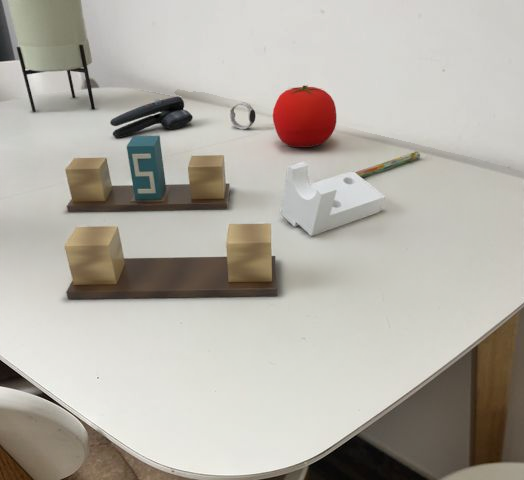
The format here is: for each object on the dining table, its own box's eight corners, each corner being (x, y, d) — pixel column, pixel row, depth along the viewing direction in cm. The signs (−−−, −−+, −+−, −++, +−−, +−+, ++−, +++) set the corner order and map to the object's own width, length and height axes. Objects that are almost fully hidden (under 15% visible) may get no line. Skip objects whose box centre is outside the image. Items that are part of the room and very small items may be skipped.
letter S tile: (134, 200, 86) (126, 146, 81) (140, 187, 90) (132, 135, 85) (161, 200, 86) (154, 146, 81) (166, 187, 90) (159, 135, 85)
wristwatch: (250, 131, 117) (249, 105, 114) (229, 128, 118) (227, 103, 116) (256, 127, 119) (256, 102, 116) (235, 125, 121) (234, 100, 118)
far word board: (68, 212, 85) (58, 172, 82) (81, 192, 92) (73, 154, 88) (227, 209, 85) (224, 169, 81) (230, 189, 91) (227, 151, 88)
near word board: (67, 299, 65) (55, 252, 62) (85, 265, 72) (75, 221, 68) (276, 296, 65) (276, 248, 61) (275, 262, 71) (275, 217, 68)
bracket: (309, 241, 78) (321, 194, 72) (279, 212, 81) (288, 165, 76) (378, 217, 84) (393, 171, 78) (347, 191, 87) (360, 146, 82)
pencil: (348, 183, 92) (420, 158, 101) (348, 176, 91) (421, 152, 100) (342, 181, 93) (414, 156, 102) (342, 174, 92) (415, 150, 101)
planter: (104, 96, 144) (85, -12, 130) (93, 113, 131) (71, -4, 117) (43, 98, 143) (18, -9, 129) (26, 115, 130) (-4, -2, 116)
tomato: (317, 132, 115) (319, 76, 109) (346, 149, 106) (350, 89, 100) (263, 140, 111) (261, 83, 105) (287, 158, 103) (288, 96, 96)
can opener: (179, 118, 125) (177, 91, 122) (196, 125, 121) (193, 97, 118) (105, 134, 117) (99, 105, 114) (120, 142, 113) (114, 112, 109)
